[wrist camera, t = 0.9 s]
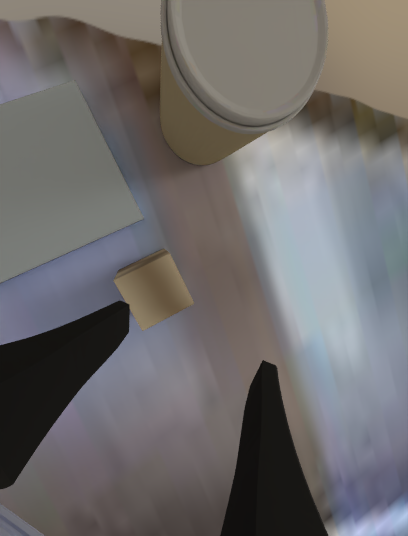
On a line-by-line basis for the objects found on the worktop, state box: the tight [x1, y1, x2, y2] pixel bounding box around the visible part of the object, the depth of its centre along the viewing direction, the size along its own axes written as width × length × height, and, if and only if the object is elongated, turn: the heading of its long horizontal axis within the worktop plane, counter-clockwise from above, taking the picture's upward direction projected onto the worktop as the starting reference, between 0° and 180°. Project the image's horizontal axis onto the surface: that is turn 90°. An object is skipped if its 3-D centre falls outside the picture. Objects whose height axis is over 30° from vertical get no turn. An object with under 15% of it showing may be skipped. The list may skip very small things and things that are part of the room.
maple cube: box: [113, 249, 194, 331], centre depth 22 cm, size 5×5×5 cm
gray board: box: [0, 80, 144, 283], centre depth 20 cm, size 16×12×1 cm
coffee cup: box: [160, 0, 328, 165], centre depth 17 cm, size 9×9×12 cm
